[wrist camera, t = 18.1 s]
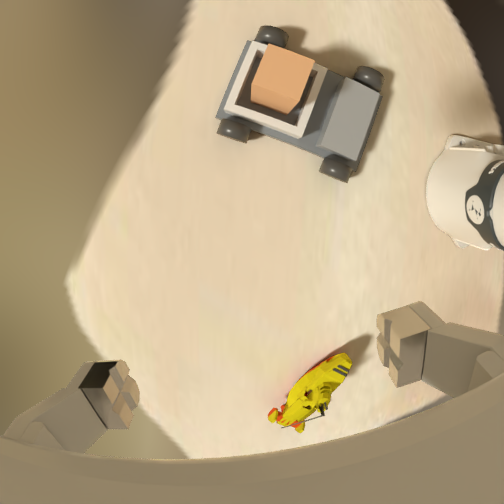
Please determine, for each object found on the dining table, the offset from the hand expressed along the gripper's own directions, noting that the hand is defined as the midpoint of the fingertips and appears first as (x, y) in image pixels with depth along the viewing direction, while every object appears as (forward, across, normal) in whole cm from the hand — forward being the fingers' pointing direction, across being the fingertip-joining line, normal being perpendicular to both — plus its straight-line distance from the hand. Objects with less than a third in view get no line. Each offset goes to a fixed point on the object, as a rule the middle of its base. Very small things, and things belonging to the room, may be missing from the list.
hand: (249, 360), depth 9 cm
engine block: (+33, -7, -14) cm, 37 cm away
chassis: (+34, -10, -12) cm, 37 cm away
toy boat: (+34, -4, +32) cm, 47 cm away
